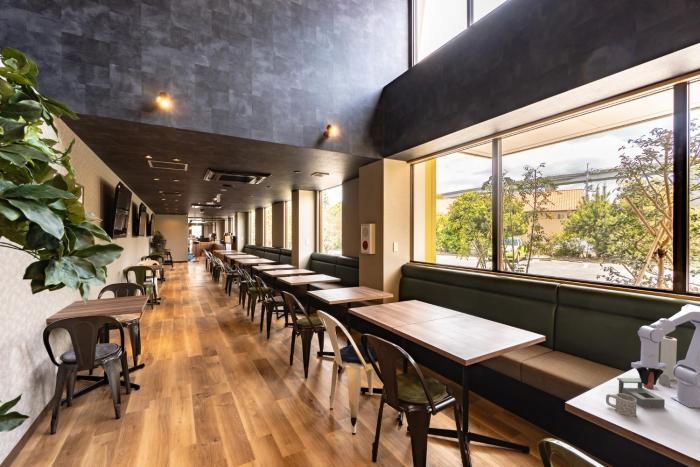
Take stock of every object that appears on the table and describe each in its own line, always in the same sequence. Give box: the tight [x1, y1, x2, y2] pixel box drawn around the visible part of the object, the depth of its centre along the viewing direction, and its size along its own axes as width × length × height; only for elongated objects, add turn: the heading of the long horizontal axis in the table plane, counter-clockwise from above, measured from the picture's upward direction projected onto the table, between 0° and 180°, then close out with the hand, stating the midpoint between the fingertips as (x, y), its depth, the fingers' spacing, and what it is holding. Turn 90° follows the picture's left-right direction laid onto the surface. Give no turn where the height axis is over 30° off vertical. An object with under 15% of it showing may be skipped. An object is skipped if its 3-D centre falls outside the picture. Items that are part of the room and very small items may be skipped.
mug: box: [605, 392, 638, 418], centre depth 136 cm, size 10×7×7 cm, turn 44°
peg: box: [643, 372, 655, 391], centre depth 141 cm, size 3×3×7 cm
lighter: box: [657, 374, 671, 388], centre depth 161 cm, size 7×2×8 cm, turn 42°
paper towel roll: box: [658, 335, 678, 381], centre depth 168 cm, size 7×6×21 cm
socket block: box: [616, 377, 665, 409], centre depth 145 cm, size 11×12×7 cm
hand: (648, 383), depth 141 cm, fingers closed on peg, 3 cm apart
